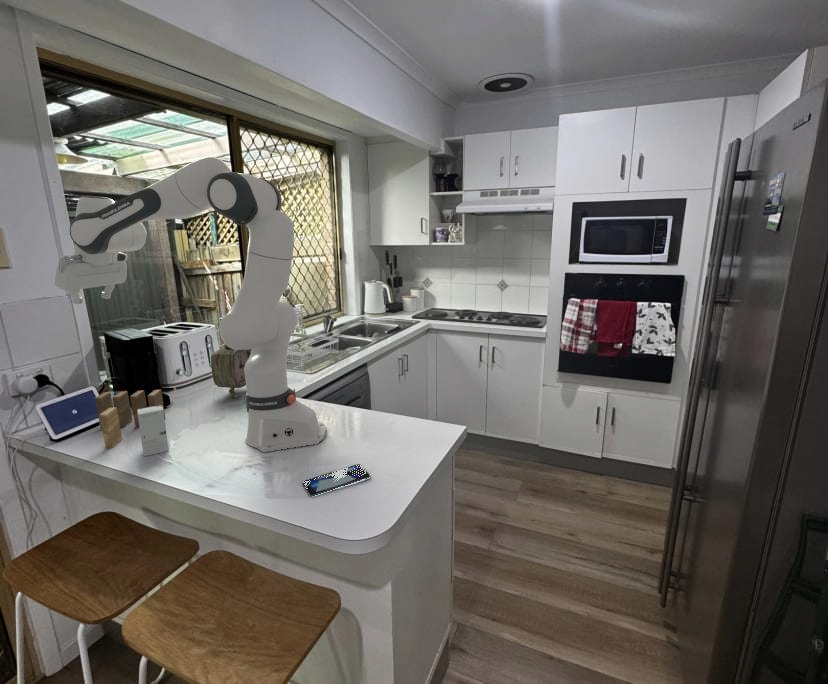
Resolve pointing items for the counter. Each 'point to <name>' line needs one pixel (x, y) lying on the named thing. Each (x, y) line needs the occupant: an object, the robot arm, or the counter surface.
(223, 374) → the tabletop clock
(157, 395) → the domino
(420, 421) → the counter surface
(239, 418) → the counter surface
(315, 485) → the smartphone
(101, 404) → the domino
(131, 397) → the domino
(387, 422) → the counter surface
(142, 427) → the skincare box
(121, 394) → the domino
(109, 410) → the oak domino
